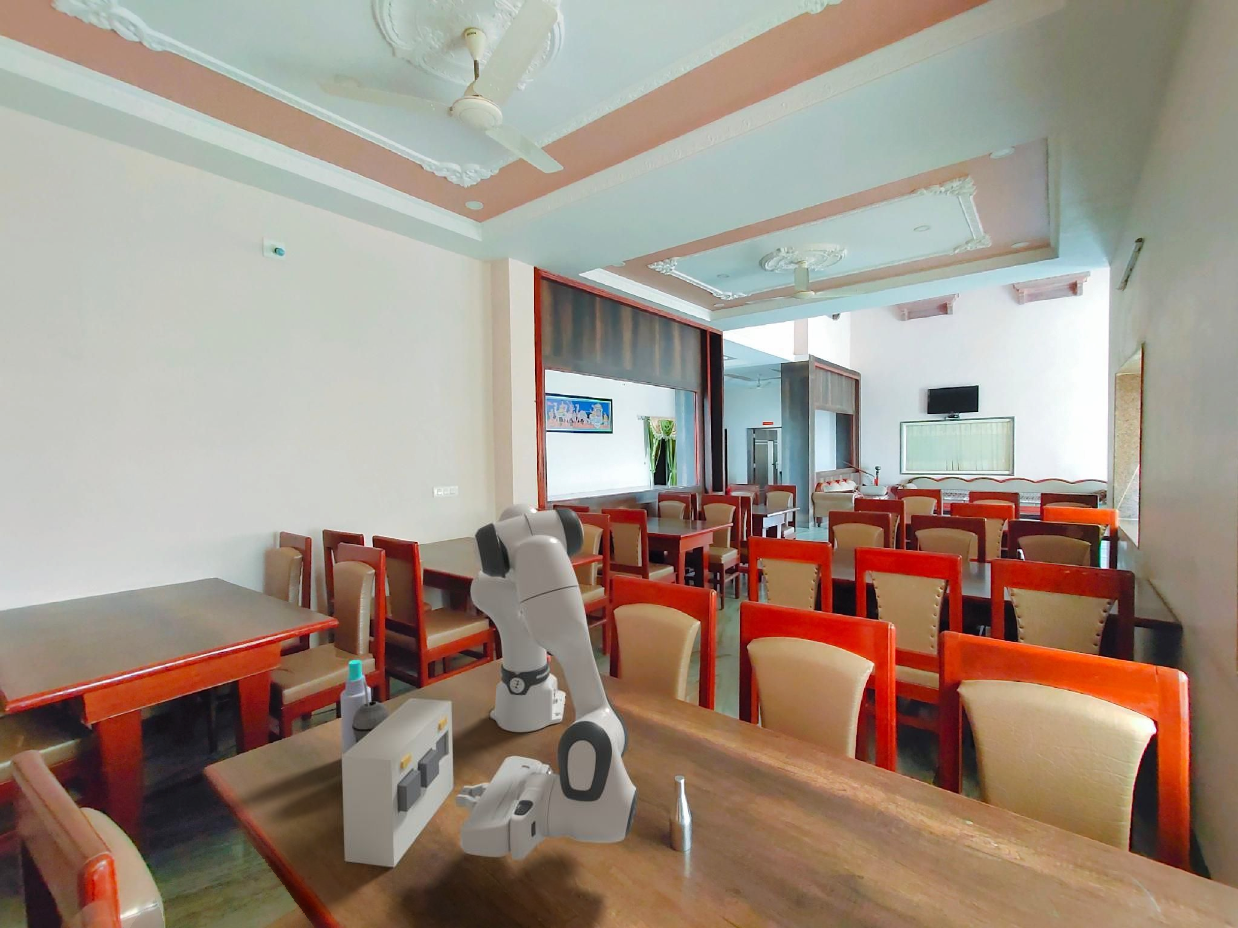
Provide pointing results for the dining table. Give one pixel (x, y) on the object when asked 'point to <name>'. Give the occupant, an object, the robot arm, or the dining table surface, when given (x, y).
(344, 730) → the spray bottle
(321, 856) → the dining table surface
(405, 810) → the key
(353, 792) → the key panel
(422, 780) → the key middle
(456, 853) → the dining table surface
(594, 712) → the robot arm
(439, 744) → the key
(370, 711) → the beverage cup
